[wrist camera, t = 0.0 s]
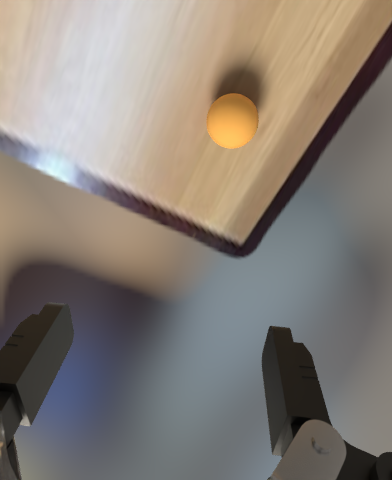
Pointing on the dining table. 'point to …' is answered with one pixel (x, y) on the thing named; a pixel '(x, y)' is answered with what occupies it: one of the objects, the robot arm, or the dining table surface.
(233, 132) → the ball
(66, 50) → the dining table surface
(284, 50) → the dining table surface
